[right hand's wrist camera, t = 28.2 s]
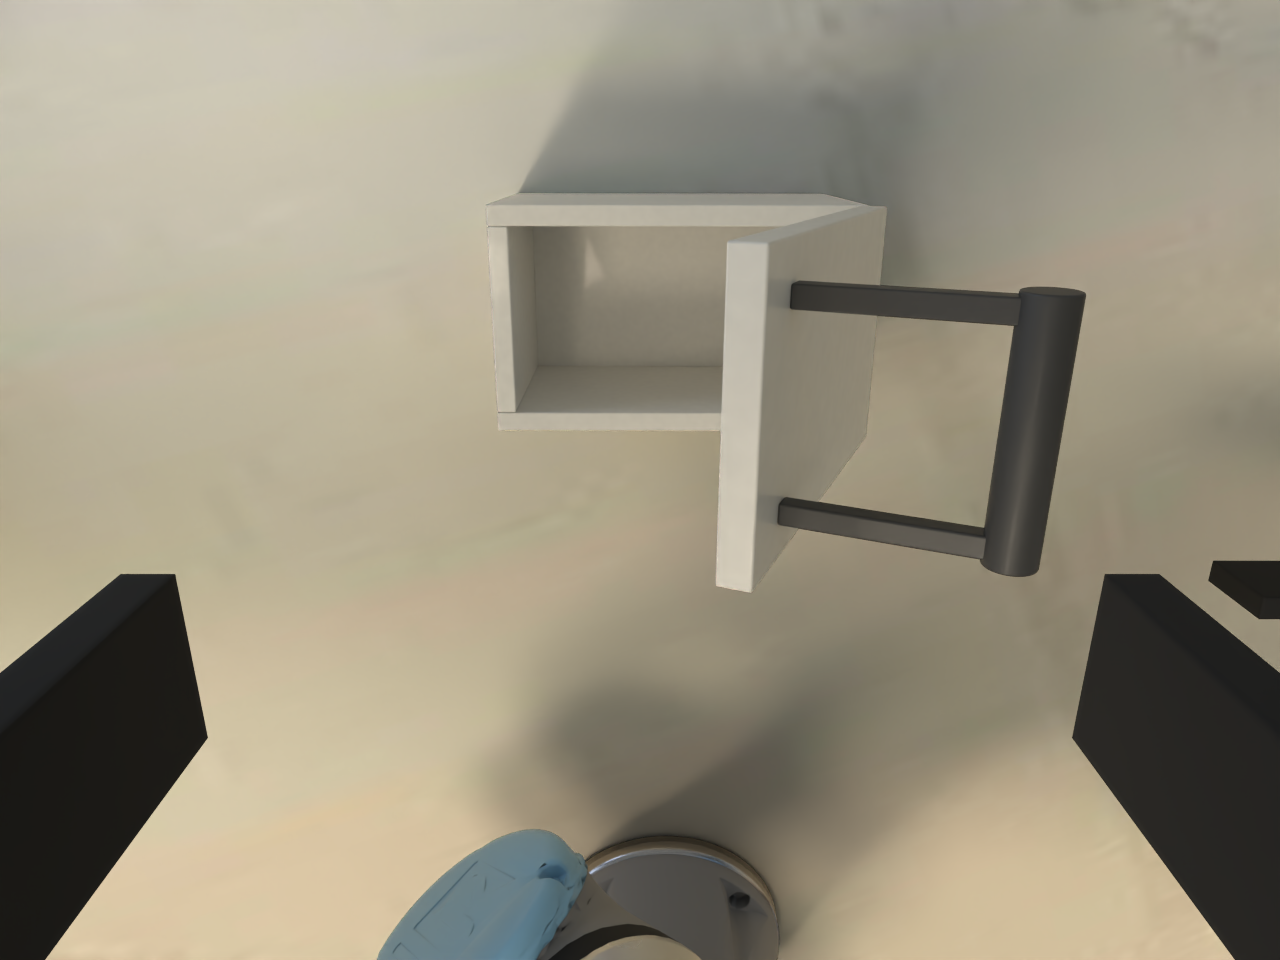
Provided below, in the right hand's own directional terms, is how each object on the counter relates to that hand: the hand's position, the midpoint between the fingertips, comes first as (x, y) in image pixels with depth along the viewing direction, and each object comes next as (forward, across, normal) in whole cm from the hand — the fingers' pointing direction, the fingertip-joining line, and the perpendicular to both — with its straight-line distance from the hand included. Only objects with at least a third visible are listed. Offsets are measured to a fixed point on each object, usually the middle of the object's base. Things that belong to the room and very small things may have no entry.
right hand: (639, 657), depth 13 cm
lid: (+19, -5, 0) cm, 19 cm away
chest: (+36, -2, 0) cm, 36 cm away
